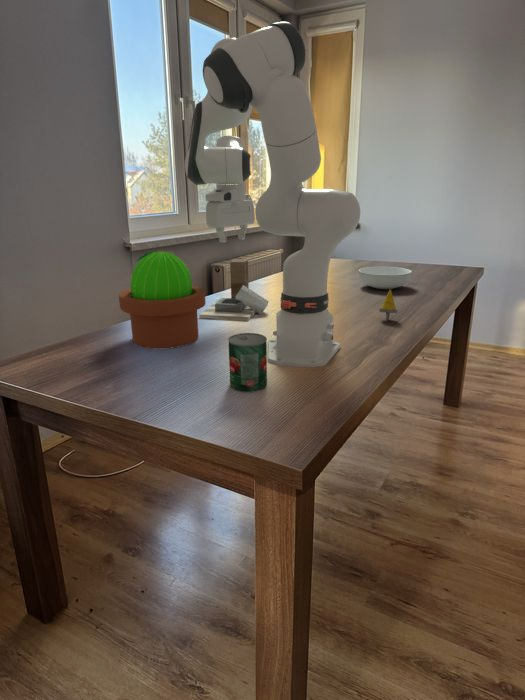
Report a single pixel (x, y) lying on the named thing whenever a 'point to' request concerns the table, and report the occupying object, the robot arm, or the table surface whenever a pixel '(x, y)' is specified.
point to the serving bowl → (384, 277)
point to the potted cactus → (162, 302)
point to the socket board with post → (232, 297)
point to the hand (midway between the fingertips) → (232, 240)
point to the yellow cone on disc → (388, 305)
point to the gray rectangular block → (252, 299)
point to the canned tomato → (248, 362)
